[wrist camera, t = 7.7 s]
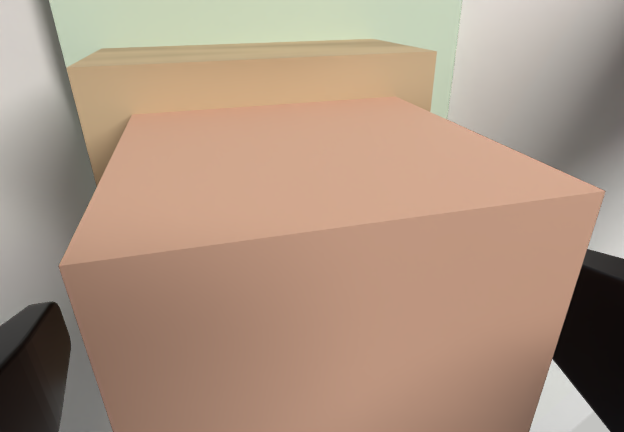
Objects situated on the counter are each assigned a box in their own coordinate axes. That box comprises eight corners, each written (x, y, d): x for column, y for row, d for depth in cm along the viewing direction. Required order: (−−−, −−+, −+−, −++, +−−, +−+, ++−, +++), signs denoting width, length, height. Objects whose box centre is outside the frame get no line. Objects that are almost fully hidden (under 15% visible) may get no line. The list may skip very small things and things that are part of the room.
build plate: (417, 294, 20) (423, 302, 19) (141, 344, 17) (139, 355, 17) (470, -151, 13) (482, -158, 12) (8, -184, 10) (-1, -195, 9)
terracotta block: (381, 297, 13) (509, 493, 8) (176, 334, 12) (168, 598, 7) (395, 96, 10) (605, 191, 5) (131, 114, 9) (58, 266, 4)
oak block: (363, 254, 17) (407, 318, 14) (153, 286, 15) (143, 369, 12) (372, 38, 14) (437, 51, 10) (101, 48, 12) (66, 67, 8)
